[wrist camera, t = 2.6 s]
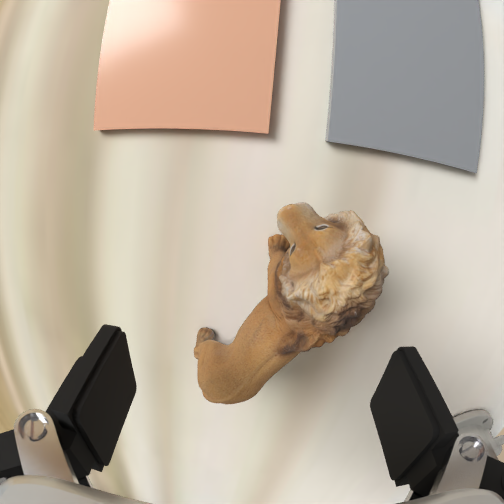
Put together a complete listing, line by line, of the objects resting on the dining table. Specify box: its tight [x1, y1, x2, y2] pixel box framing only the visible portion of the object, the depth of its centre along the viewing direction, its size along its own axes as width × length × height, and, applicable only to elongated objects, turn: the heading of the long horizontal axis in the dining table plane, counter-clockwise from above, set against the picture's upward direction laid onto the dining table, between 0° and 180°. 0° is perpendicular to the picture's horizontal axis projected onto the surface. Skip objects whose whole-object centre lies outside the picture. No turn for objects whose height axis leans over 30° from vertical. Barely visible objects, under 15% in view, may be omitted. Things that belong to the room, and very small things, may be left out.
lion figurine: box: [194, 202, 389, 404], centre depth 15 cm, size 15×5×9 cm, turn 153°
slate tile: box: [325, 0, 484, 173], centre depth 13 cm, size 10×16×1 cm, turn 176°
